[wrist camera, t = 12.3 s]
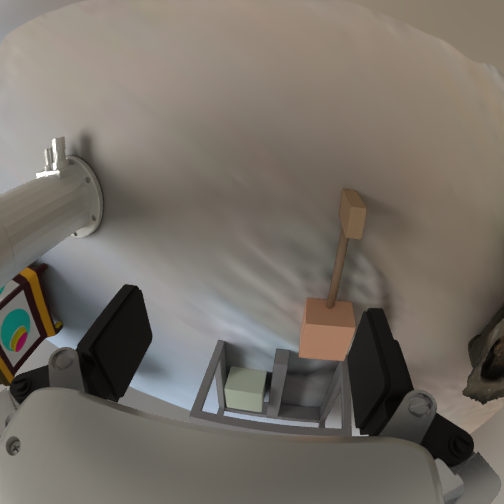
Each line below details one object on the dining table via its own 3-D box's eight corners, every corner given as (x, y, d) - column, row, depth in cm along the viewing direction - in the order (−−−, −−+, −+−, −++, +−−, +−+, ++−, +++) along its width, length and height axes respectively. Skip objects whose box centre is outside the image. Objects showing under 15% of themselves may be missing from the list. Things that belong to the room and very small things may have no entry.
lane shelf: (218, 340, 42) (189, 416, 30) (347, 355, 39) (351, 436, 27) (223, 397, 50) (203, 458, 38) (324, 410, 47) (320, 474, 35)
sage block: (231, 365, 45) (224, 388, 40) (266, 370, 44) (262, 394, 40) (233, 385, 48) (226, 407, 43) (265, 390, 47) (261, 412, 42)
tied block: (321, 186, 29) (325, 203, 24) (375, 193, 28) (390, 212, 23) (300, 331, 38) (298, 363, 33) (341, 334, 38) (344, 366, 32)
